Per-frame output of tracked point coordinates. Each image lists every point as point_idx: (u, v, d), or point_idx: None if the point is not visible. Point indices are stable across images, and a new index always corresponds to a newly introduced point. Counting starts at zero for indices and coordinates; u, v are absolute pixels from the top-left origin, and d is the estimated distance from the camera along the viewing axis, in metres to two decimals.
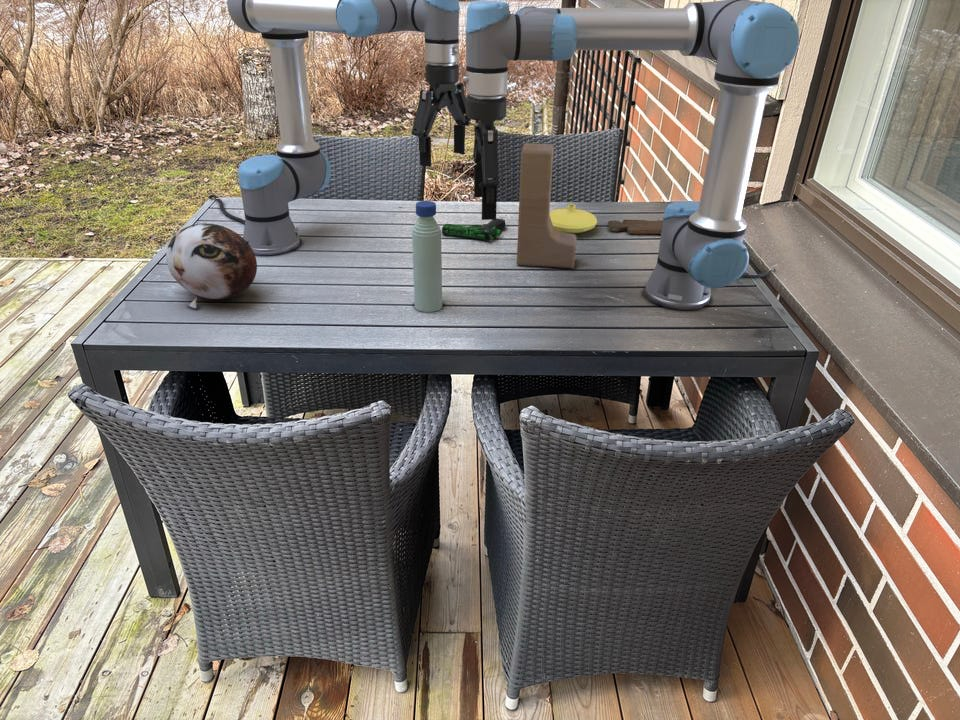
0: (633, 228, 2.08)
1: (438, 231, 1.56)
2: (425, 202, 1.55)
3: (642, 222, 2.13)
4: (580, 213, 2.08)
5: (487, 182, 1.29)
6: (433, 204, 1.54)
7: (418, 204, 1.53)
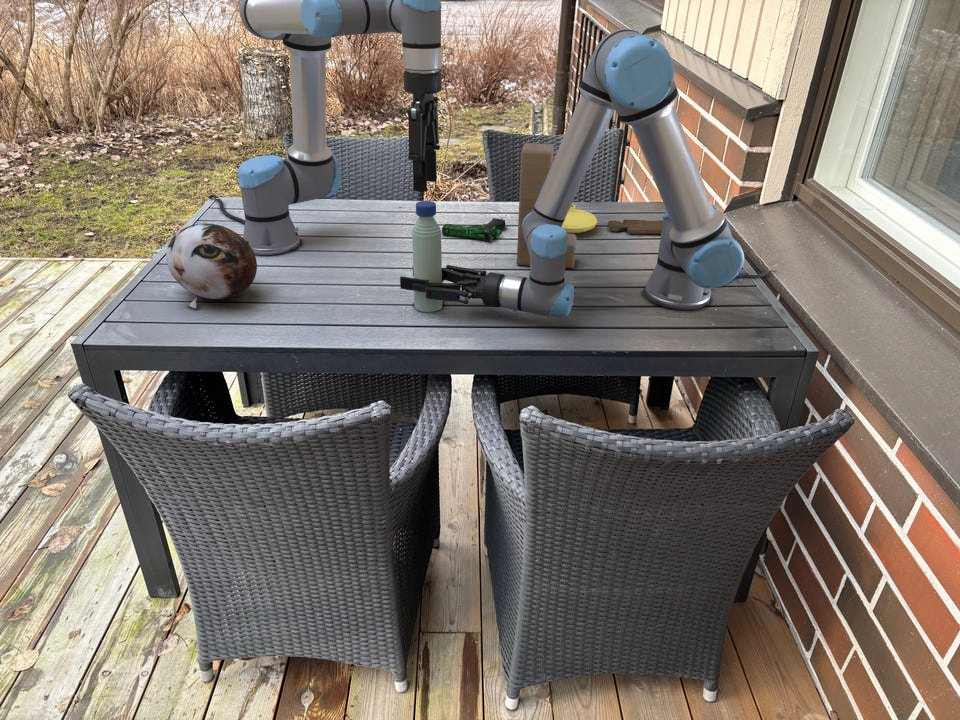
0: (633, 228, 2.08)
1: (438, 231, 1.56)
2: (425, 202, 1.55)
3: (642, 222, 2.13)
4: (580, 213, 2.08)
5: None
6: (433, 204, 1.54)
7: (418, 204, 1.53)
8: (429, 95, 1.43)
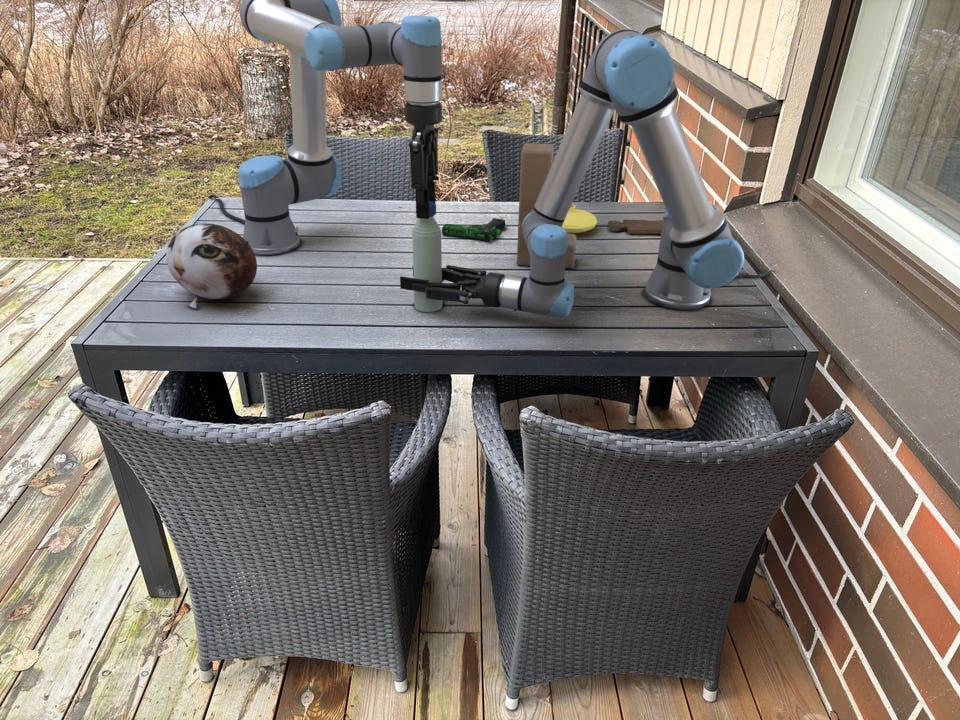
0: (633, 228, 2.08)
1: (438, 231, 1.56)
2: None
3: (642, 222, 2.13)
4: (580, 213, 2.08)
5: None
6: (433, 204, 1.54)
7: None
8: (429, 125, 1.46)
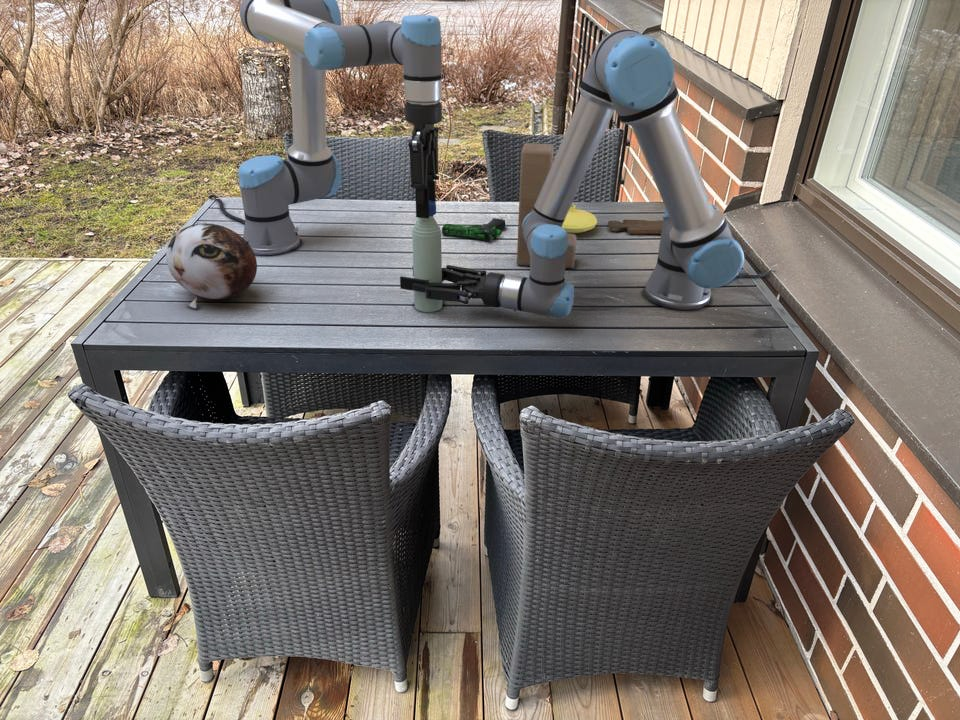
0: (633, 228, 2.08)
1: (438, 231, 1.56)
2: None
3: (642, 222, 2.13)
4: (580, 213, 2.08)
5: None
6: None
7: (430, 205, 1.53)
8: (429, 125, 1.46)
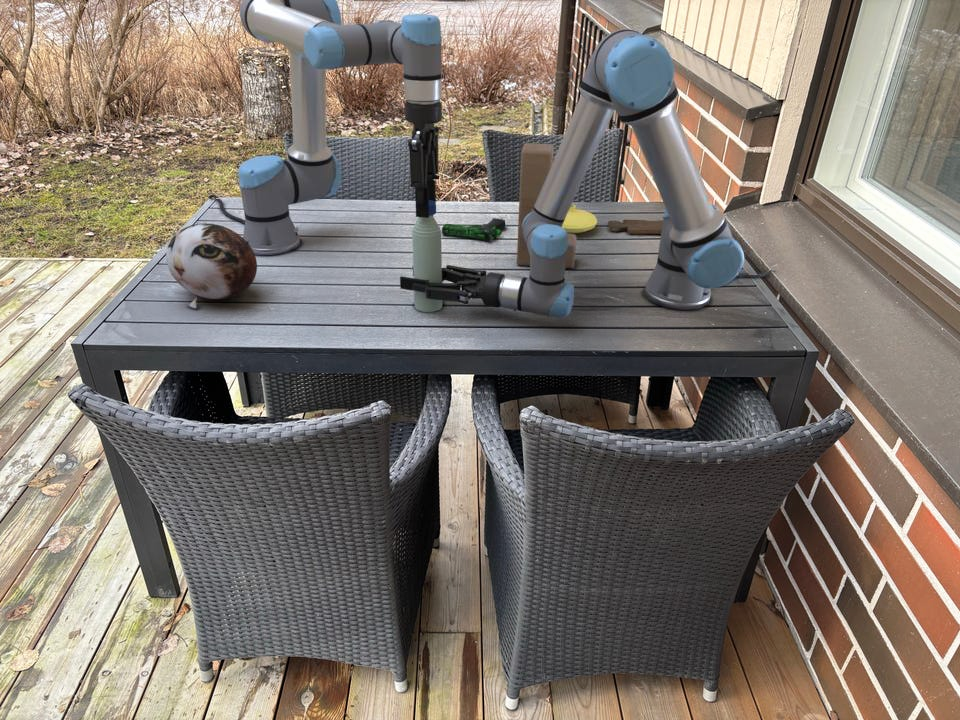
0: (633, 228, 2.08)
1: (438, 231, 1.56)
2: (429, 203, 1.53)
3: (642, 222, 2.13)
4: (580, 213, 2.08)
5: None
6: None
7: (429, 200, 1.55)
8: (429, 124, 1.45)
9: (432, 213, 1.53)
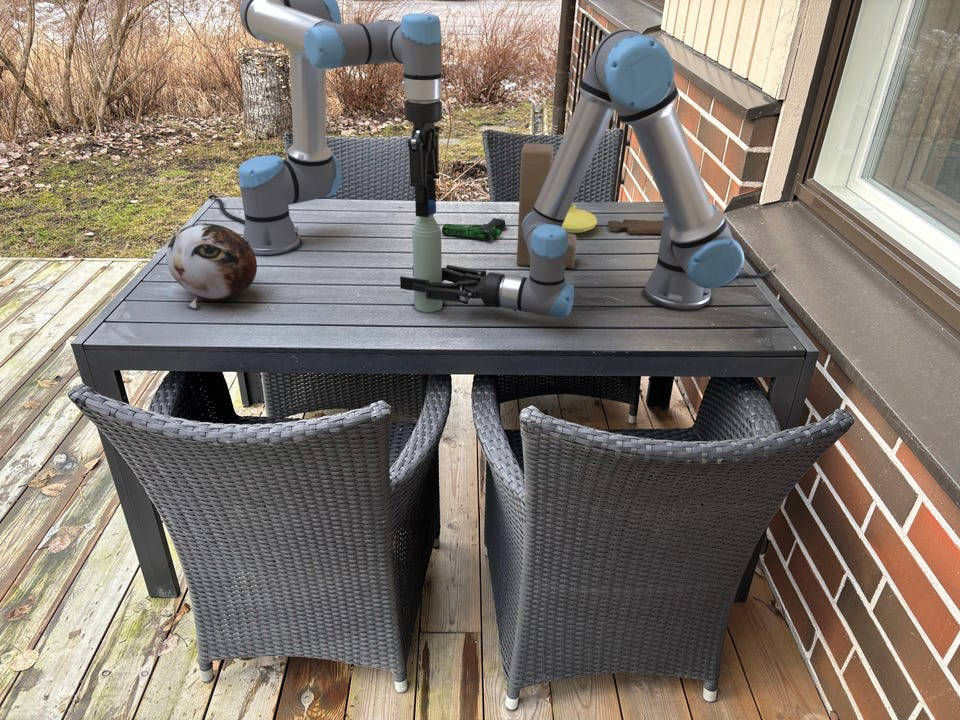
0: (633, 228, 2.08)
1: (438, 231, 1.56)
2: None
3: (642, 222, 2.13)
4: (580, 213, 2.08)
5: None
6: (432, 203, 1.53)
7: None
8: (429, 124, 1.45)
9: None
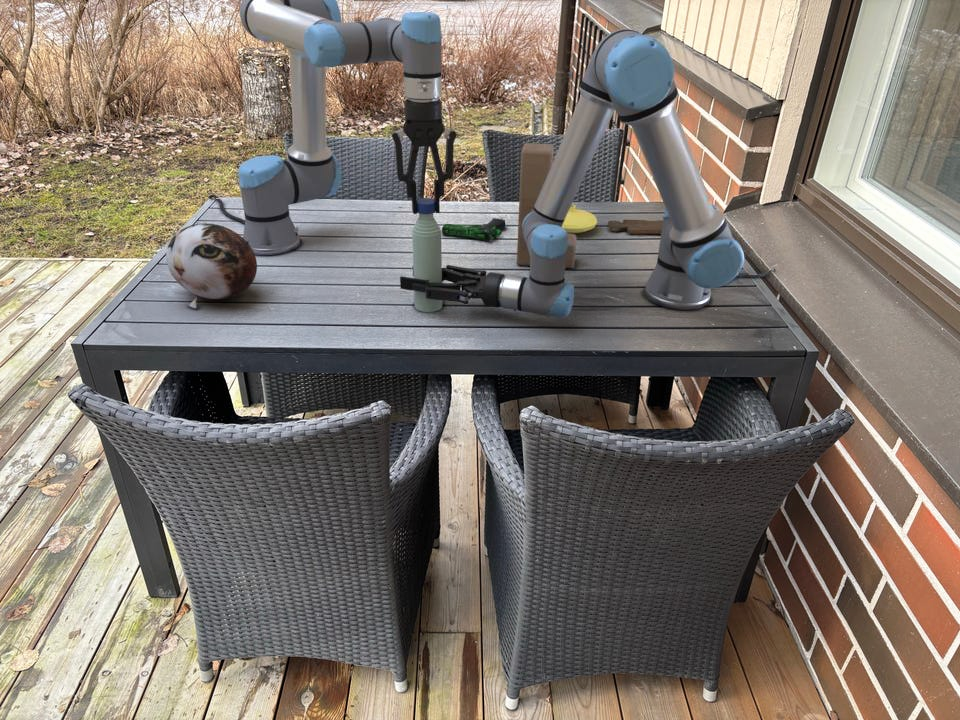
0: (633, 228, 2.08)
1: (438, 231, 1.56)
2: (421, 201, 1.53)
3: (642, 222, 2.13)
4: (580, 213, 2.08)
5: None
6: (426, 198, 1.55)
7: (428, 203, 1.52)
8: None
9: None
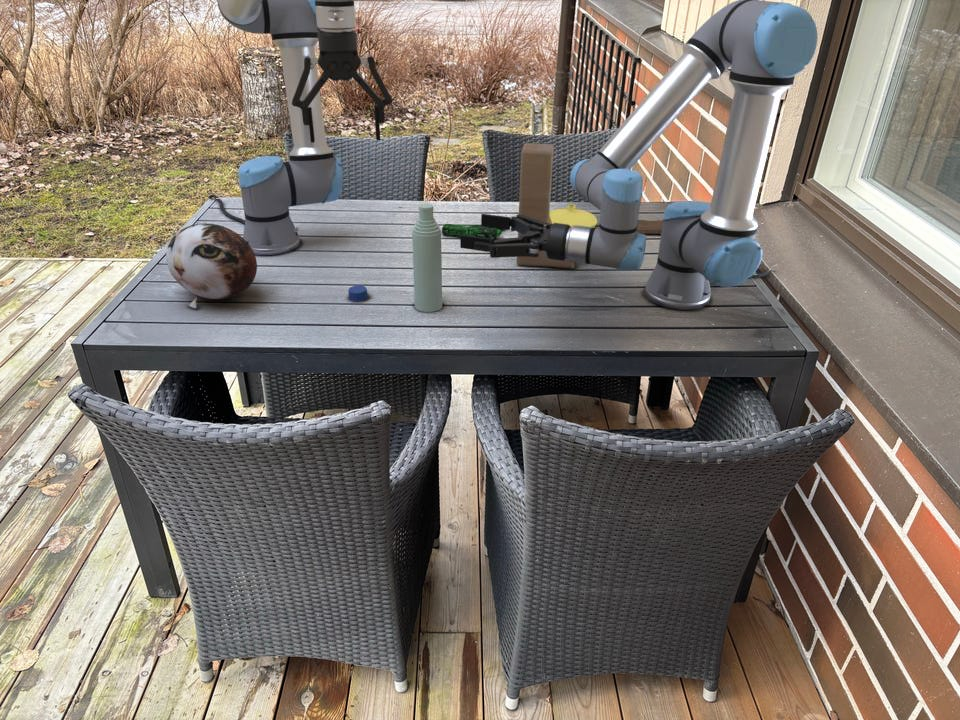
0: None
1: (438, 231, 1.56)
2: (353, 289, 1.68)
3: (642, 222, 2.13)
4: (580, 213, 2.08)
5: None
6: (358, 286, 1.70)
7: (359, 291, 1.67)
8: None
9: (349, 296, 1.69)
